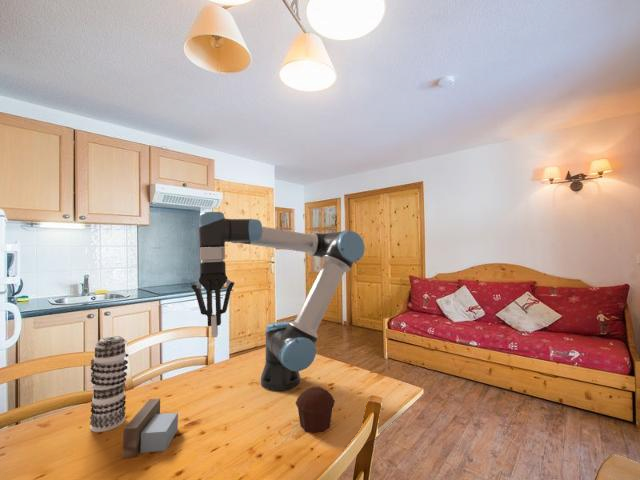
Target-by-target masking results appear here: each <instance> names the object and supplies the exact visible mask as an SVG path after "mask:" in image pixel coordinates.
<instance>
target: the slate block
mask: <svg viewBox="0 0 640 480" xmlns="http://www.w3.org/2000/svg"><path fill="white" fill-rule="evenodd" d="M178 421H179V412H167V413H160V414H155V416H154V417H153V418H152V420H151V421H150V422H149V423H148V425H147V426H146V427H145V429H144V430H143V431H142V433H141V450H140V451H139V453H141V454H142V453H151V452H152V453H154V452H164V451H166V450H167V449H168V448H169V445H170V444H171V442H172V440H173V438H174V437H175V434H177V432H178V429H179V428H178V425H179V424H178V423H179V422H178Z"/></svg>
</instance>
